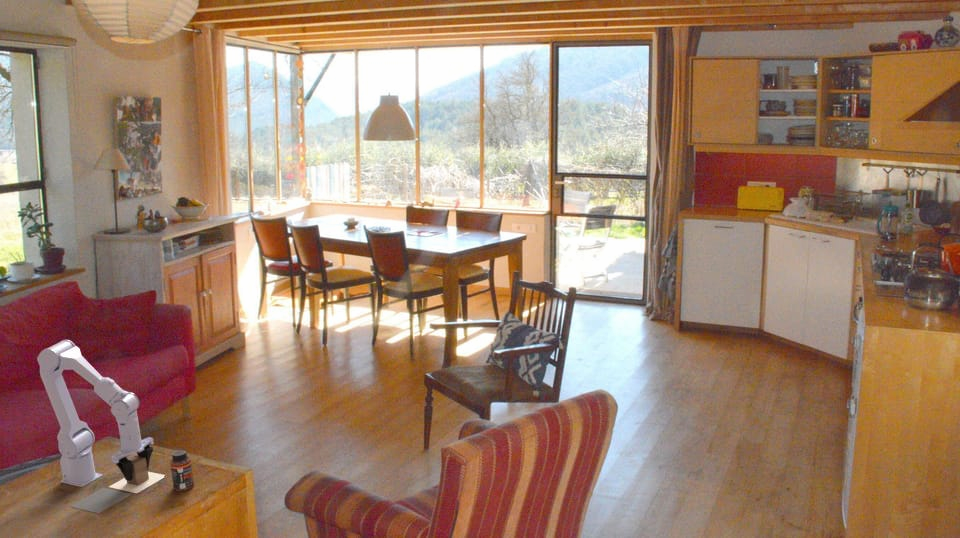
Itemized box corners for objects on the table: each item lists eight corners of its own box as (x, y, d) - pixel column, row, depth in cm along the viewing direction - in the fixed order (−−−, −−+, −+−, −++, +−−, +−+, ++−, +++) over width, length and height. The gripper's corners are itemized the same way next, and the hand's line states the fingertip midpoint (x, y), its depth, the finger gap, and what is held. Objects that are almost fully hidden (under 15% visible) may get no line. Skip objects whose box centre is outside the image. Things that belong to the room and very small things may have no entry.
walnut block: (127, 483, 269) (123, 462, 267) (138, 476, 273) (134, 455, 271) (137, 485, 267) (133, 464, 265) (149, 478, 271) (145, 457, 269)
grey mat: (69, 507, 257) (69, 506, 257) (103, 488, 267) (103, 487, 267) (98, 514, 251) (98, 513, 251) (131, 494, 262) (131, 494, 262)
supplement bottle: (188, 492, 261) (182, 457, 258) (170, 492, 262) (164, 457, 259) (198, 483, 266) (193, 448, 264) (180, 482, 268) (175, 448, 265)
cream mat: (108, 487, 268) (108, 486, 268) (139, 470, 278) (139, 469, 278) (136, 493, 262) (136, 493, 262) (167, 476, 273) (167, 475, 272)
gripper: (120, 445, 258) (127, 487, 261) (158, 426, 271) (164, 466, 274) (103, 442, 261) (110, 484, 265) (141, 423, 274) (148, 463, 277)
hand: (137, 475), depth 270 cm, fingers open, 6 cm apart
